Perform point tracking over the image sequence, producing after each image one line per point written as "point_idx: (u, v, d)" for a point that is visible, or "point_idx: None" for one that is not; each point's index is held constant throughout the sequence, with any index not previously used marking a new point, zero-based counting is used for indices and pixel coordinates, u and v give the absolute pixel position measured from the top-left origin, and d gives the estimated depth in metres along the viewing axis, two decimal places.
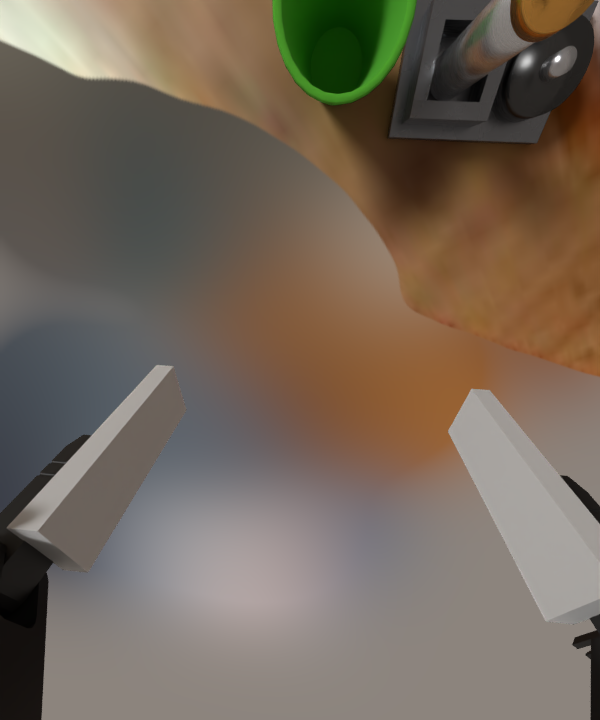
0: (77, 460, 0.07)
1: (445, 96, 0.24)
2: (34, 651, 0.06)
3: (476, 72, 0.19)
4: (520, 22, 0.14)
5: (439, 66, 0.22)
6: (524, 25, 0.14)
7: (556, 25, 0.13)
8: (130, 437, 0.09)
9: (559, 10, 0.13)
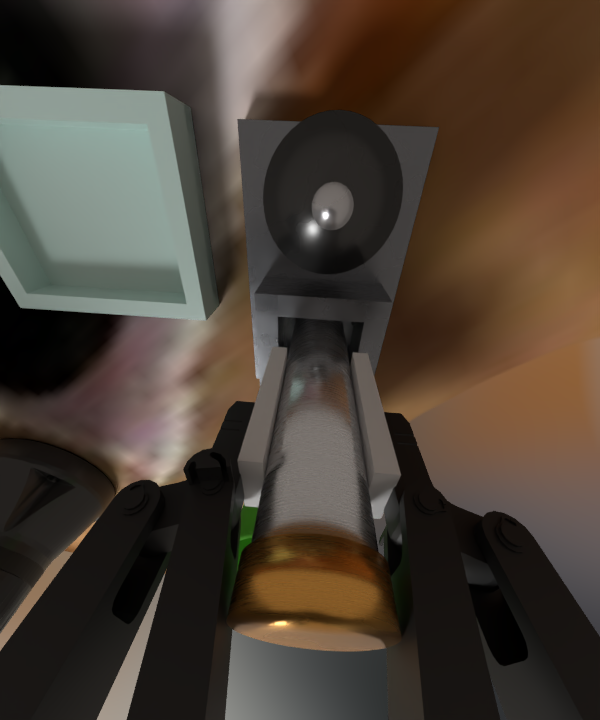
0: (258, 416, 0.09)
1: None
2: (234, 581, 0.07)
3: None
4: None
5: None
6: None
7: (393, 640, 0.05)
8: (277, 402, 0.10)
9: (368, 636, 0.05)
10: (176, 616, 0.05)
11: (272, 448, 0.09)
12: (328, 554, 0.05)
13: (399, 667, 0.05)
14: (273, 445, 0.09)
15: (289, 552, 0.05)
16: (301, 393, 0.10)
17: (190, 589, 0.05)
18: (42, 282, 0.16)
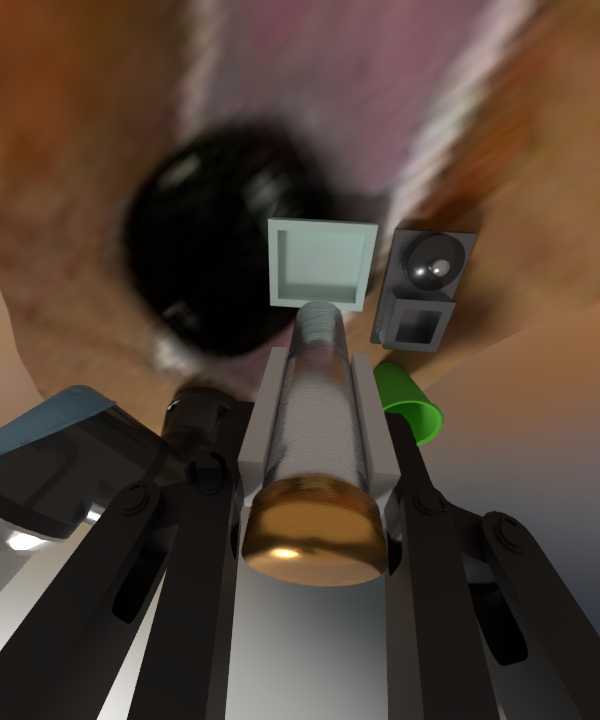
0: (257, 416, 0.09)
1: None
2: (234, 580, 0.07)
3: None
4: None
5: None
6: None
7: (381, 564, 0.06)
8: (277, 402, 0.10)
9: (361, 563, 0.07)
10: (176, 616, 0.05)
11: (277, 419, 0.10)
12: (327, 491, 0.06)
13: (399, 667, 0.05)
14: (278, 416, 0.10)
15: (294, 490, 0.06)
16: (303, 372, 0.11)
17: (190, 589, 0.05)
18: (279, 293, 0.34)
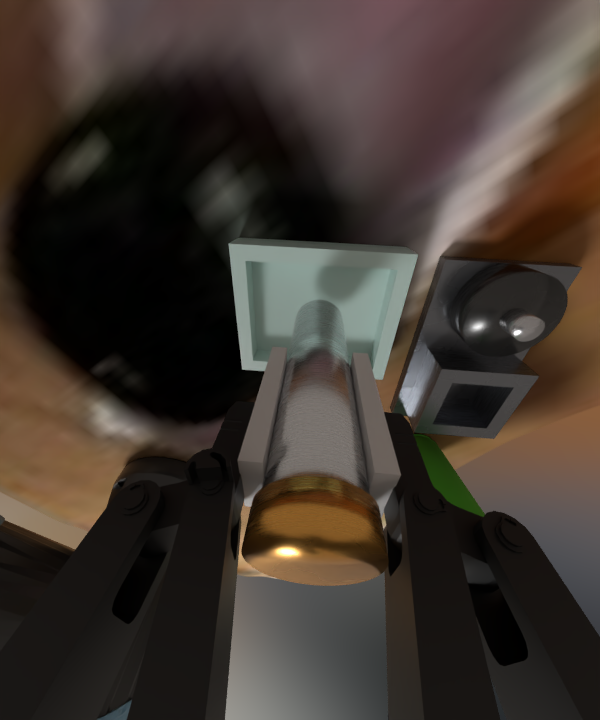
0: (257, 416, 0.09)
1: None
2: (234, 581, 0.07)
3: None
4: None
5: None
6: None
7: (381, 563, 0.06)
8: (277, 402, 0.10)
9: (361, 562, 0.07)
10: (176, 616, 0.05)
11: (277, 418, 0.10)
12: (327, 491, 0.06)
13: (399, 667, 0.05)
14: (278, 416, 0.10)
15: (294, 490, 0.06)
16: (303, 372, 0.11)
17: (190, 589, 0.05)
18: (255, 349, 0.22)
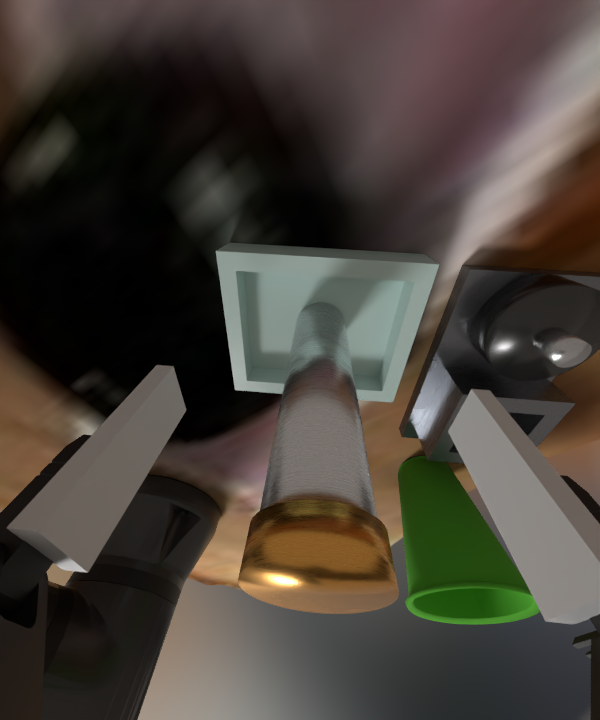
0: (77, 460, 0.07)
1: None
2: (33, 651, 0.06)
3: None
4: None
5: None
6: None
7: (391, 596, 0.06)
8: (130, 437, 0.09)
9: (368, 593, 0.06)
10: None
11: (277, 430, 0.09)
12: (332, 517, 0.06)
13: None
14: (278, 427, 0.09)
15: (296, 515, 0.06)
16: (304, 380, 0.10)
17: None
18: (250, 367, 0.20)
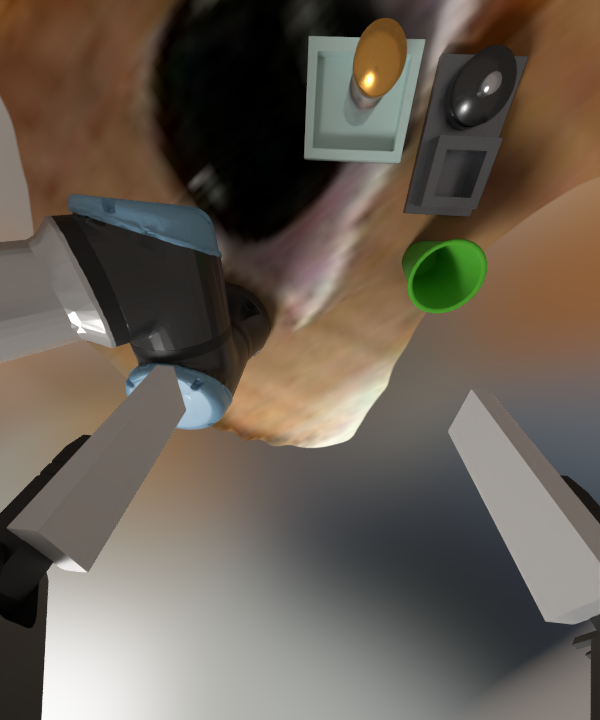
0: (77, 460, 0.07)
1: None
2: (34, 650, 0.06)
3: None
4: (393, 85, 0.20)
5: (357, 122, 0.30)
6: (396, 81, 0.20)
7: (404, 52, 0.19)
8: (130, 437, 0.09)
9: (397, 54, 0.19)
10: None
11: None
12: None
13: None
14: None
15: None
16: None
17: None
18: (312, 146, 0.32)
